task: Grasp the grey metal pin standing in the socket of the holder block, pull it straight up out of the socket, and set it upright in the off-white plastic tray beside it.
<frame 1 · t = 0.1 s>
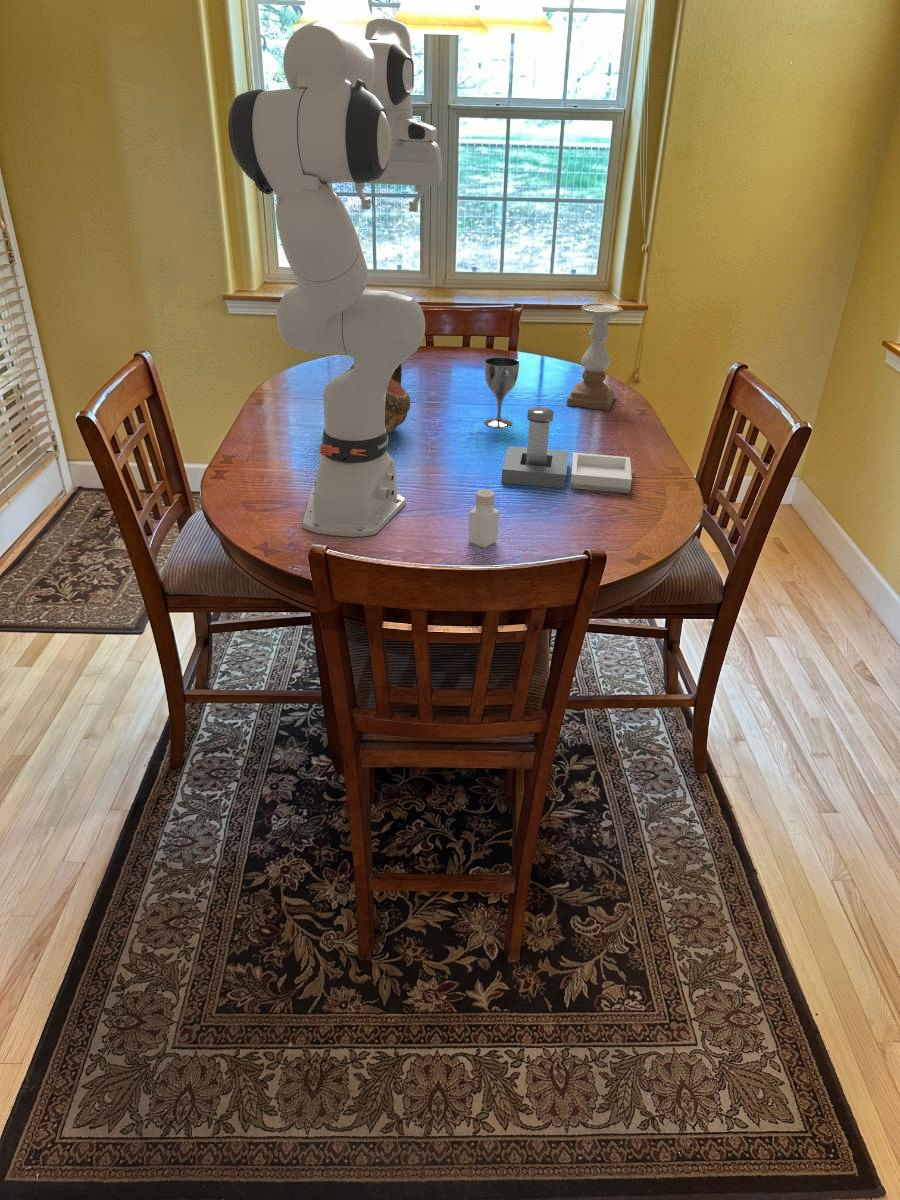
hand: (389, 210, 156), 48 cm above the table, tool pointing down, fingers open, 8 cm apart
ceramic vessel: (371, 436, 186), on the table
wine glass: (498, 424, 195), on the table
pin: (537, 443, 166), in the holder block
tray: (599, 478, 168), on the table
pepper shaker: (482, 543, 143), on the table
holder block: (535, 473, 169), on the table
candle holder: (590, 402, 211), on the table
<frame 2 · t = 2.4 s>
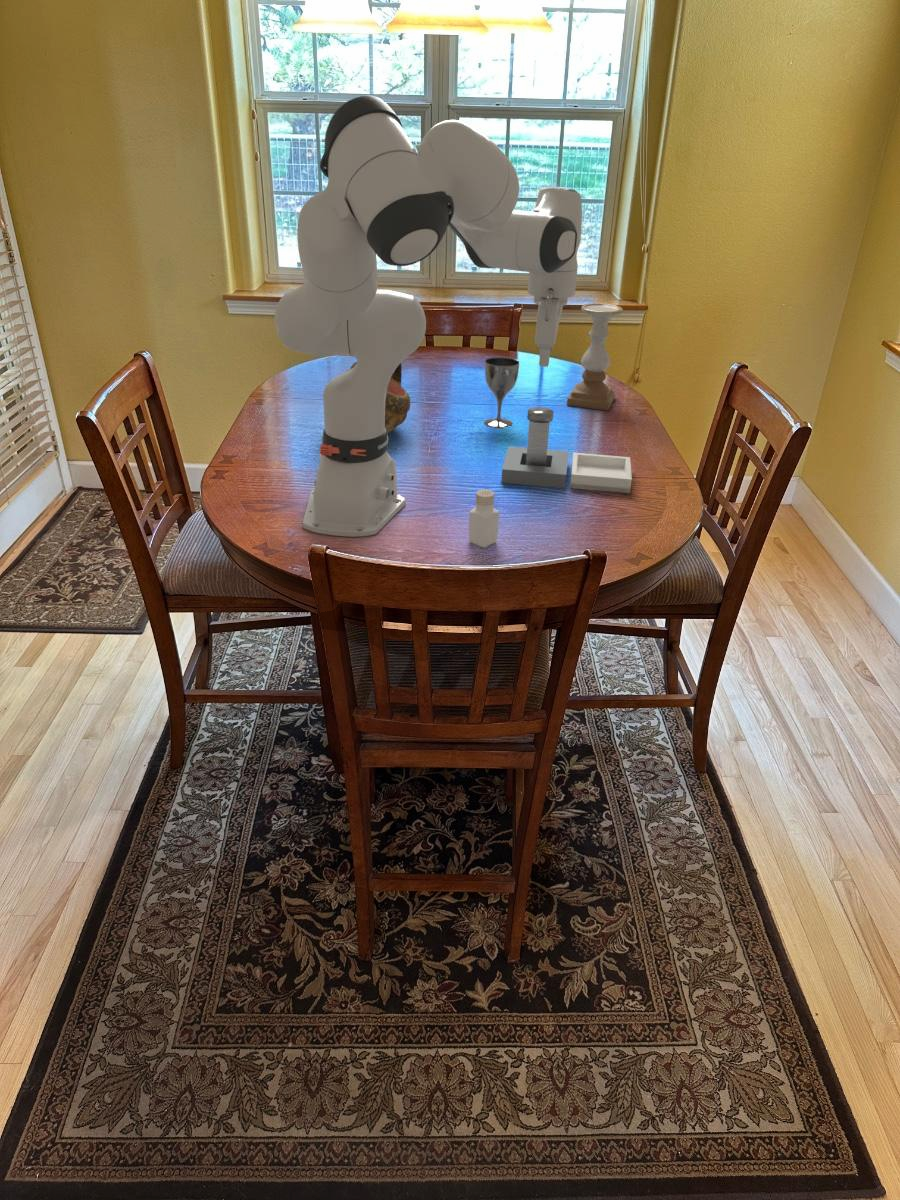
hand: (545, 358, 157), 24 cm above the table, tool pointing down, fingers open, 8 cm apart
nothing on the table moved.
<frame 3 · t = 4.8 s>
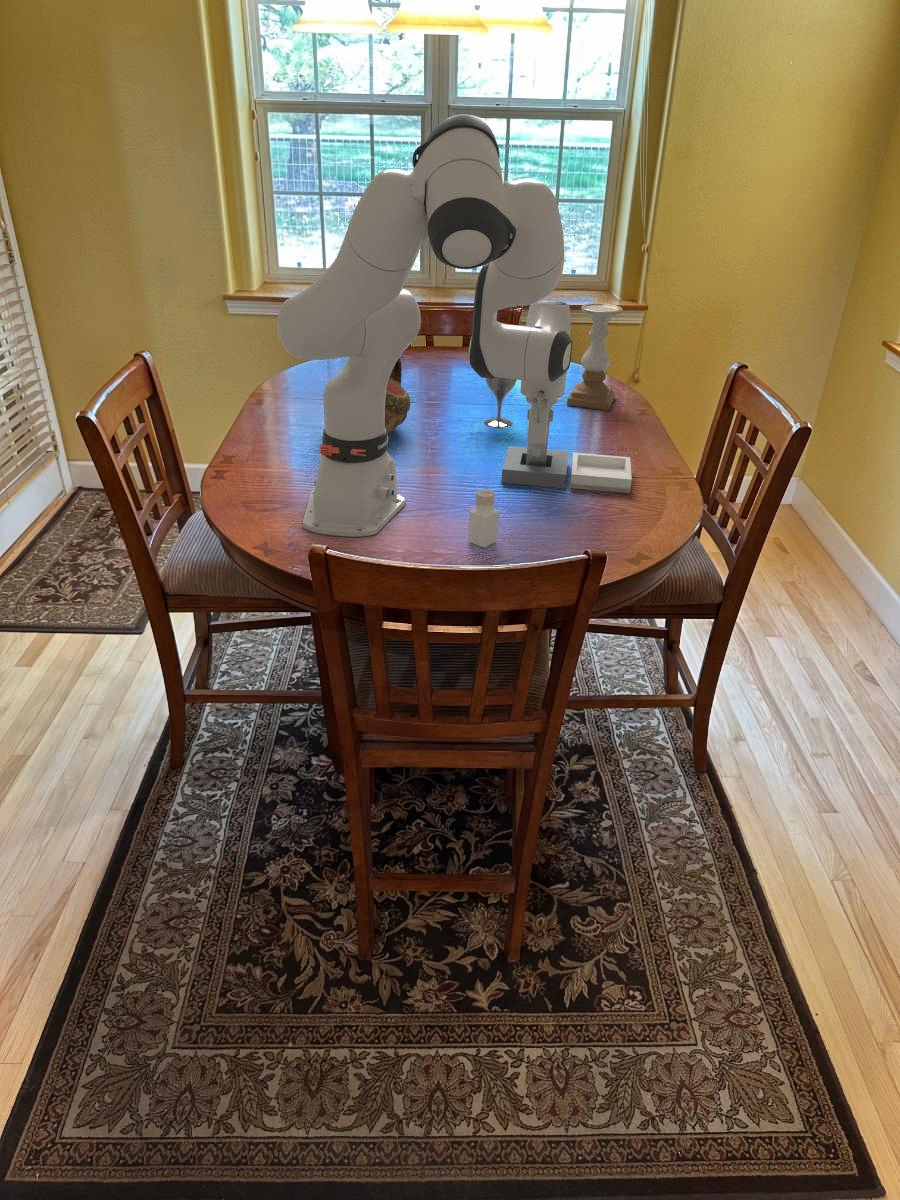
hand: (537, 450, 167), 5 cm above the table, tool pointing down, fingers closed on pin, 4 cm apart
pin: (537, 443, 166), in the holder block, touching gripper
everything else where it was.
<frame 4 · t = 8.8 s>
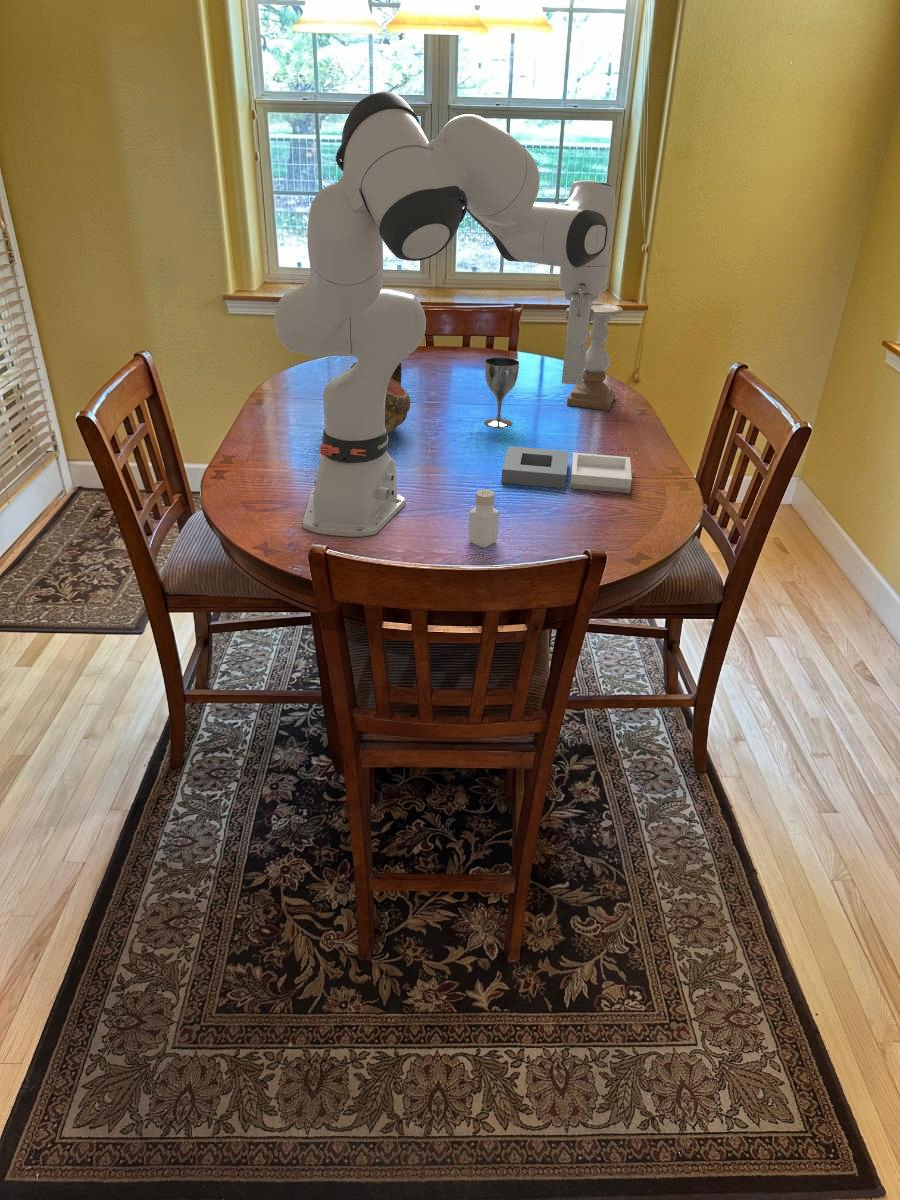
hand: (575, 354, 155), 25 cm above the table, tool pointing down, fingers closed on pin, 4 cm apart
pin: (576, 346, 154), point 27 cm above the table, touching gripper
everything else where it was.
when the fingers open (8 cm above the table, at t = 13.2 s): pin drops 1 cm, resting on tray.
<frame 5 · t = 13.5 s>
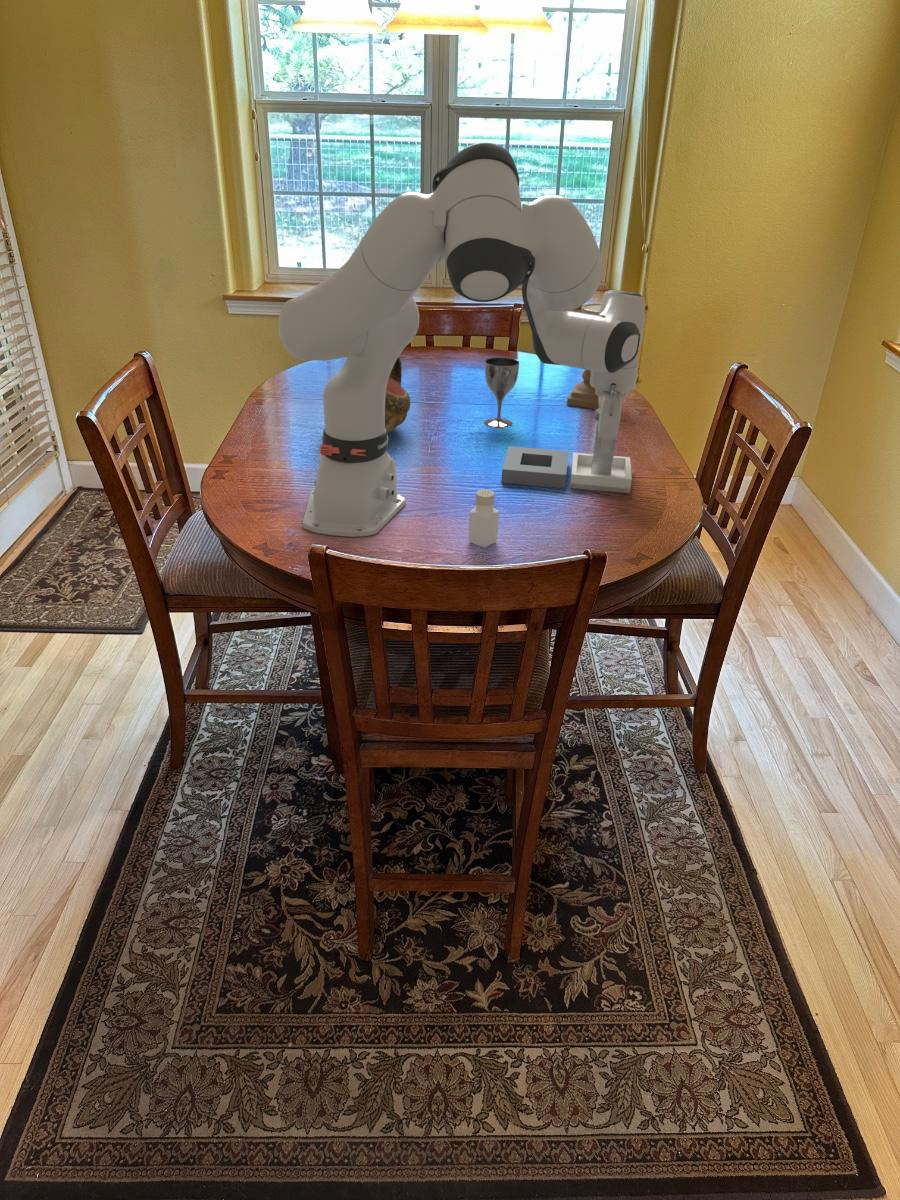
hand: (604, 444, 164), 8 cm above the table, tool pointing down, fingers open, 7 cm apart
pin: (604, 443, 163), in the tray, point 8 cm above the table
everything else where it was.
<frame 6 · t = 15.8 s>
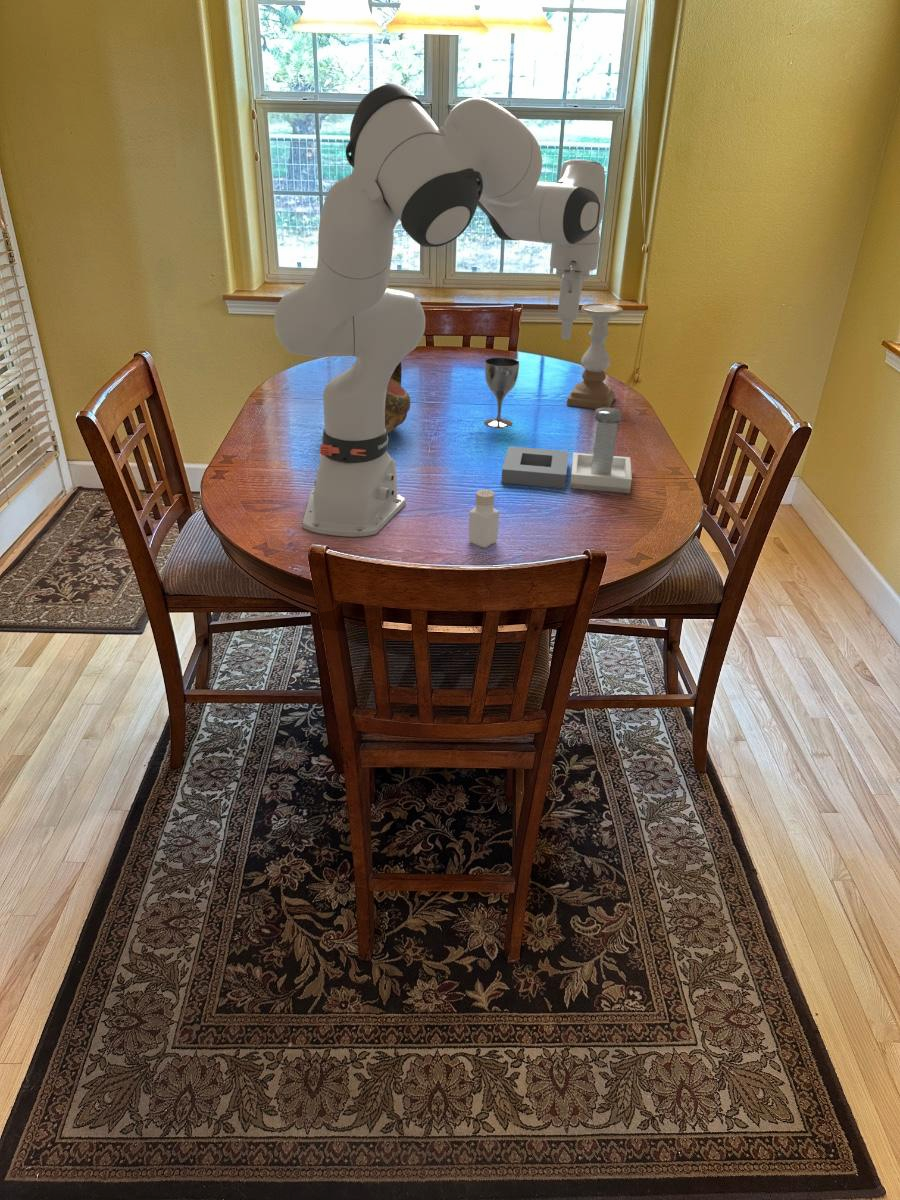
hand: (566, 333, 158), 28 cm above the table, tool pointing down, fingers open, 8 cm apart
nothing on the table moved.
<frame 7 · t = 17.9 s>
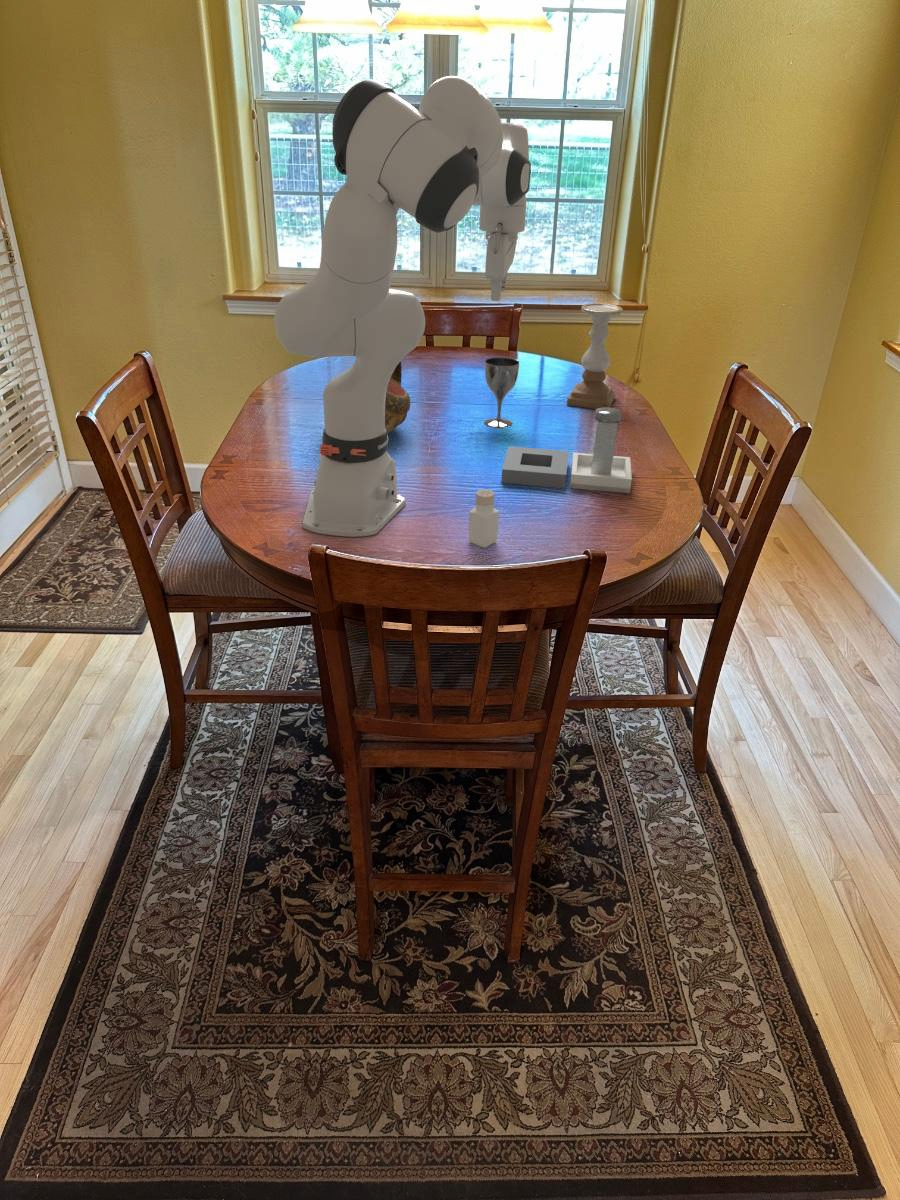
hand: (498, 295, 162), 33 cm above the table, tool pointing down, fingers open, 8 cm apart
nothing on the table moved.
at the end: pin inside the target area on the tray (0.0 cm from its centre), point 7.7 cm above the tray's base; pin tilted 0°; the gripper is holding nothing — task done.
